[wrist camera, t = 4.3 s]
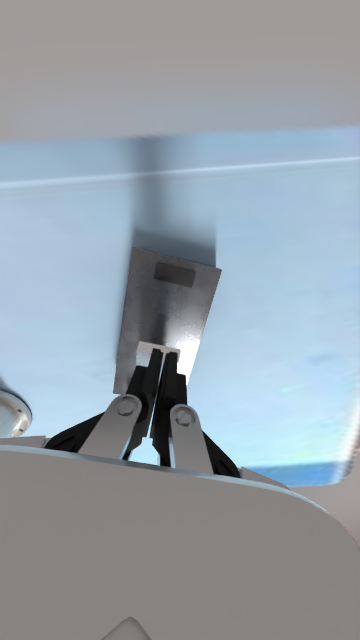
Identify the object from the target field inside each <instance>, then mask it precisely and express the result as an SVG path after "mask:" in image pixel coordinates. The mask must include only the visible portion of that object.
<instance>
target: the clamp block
mask: <svg viewBox="0 0 360 640" xmlns="http://www.w3.org/2000/svg"><path fill="white" fill-rule="evenodd" d="M221 271H222V270H221V269H219V268H216V267H212V266H208V265H204V264H200V263H196V262H192V261H188V260H184V259H180V258H176V257H172V256H168V255H164V254H160V253H156V252H152V251H148V250H144V249H140V248H133V247H132V255H131V262H130V270H129V277H128V285H127V292H126V299H125V307H124V314H123V322H122V329H121V337H120V344H119V352H118V359H117V366H116V374H115V381H114V389H113V393H114V394H120V395H123V394H126V391H127V388H128V386H129V383H130V381H131V378H132V376H133V373H134V370H135V368H136V351H137V347H138V344H139V341H142V342H147V343H152V344H157V345H162V346H167V347H172V348H177V349H181V353H180V360H179V362H178V364H177V373H180V374H185V375H186V385H187V382H188V379H189V376H190V372H191V369H192V366H193V363H194V359H195V356H196V353H197V350H198V346H199V343H200V340H201V337H202V333H203V330H204V327H205V323H206V320H207V317H208V314H209V310H210V307H211V304H212V301H213V297H214V294H215V291H216V288H217V284H218V281H219V278H220V275H221ZM155 401H156V399H155Z"/></svg>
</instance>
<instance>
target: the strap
mask: <svg viewBox="0 0 360 640" xmlns="http://www.w3.org/2000/svg"><path fill="white" fill-rule="evenodd" d="M153 348H157V349H161V352H164V354H163V360H162V366H161V372H162V368H163V364H164V360H165V355H166V353H169V352H170V351H171V352H176V353H178V362H179V360H180V353H181V349H177V348H172V347H167V346H162V345H157V344H152V343H147V342H142V341H139V344H138V347H137V351H136V365H140V366H145V367H148V364H149V360H150V357H151V353H152V350H153ZM178 362H177V364H178ZM161 372H160V376H161ZM159 380H160V378H159Z"/></svg>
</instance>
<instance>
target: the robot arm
mask: <svg viewBox="0 0 360 640" xmlns="http://www.w3.org/2000/svg"><path fill="white" fill-rule="evenodd" d="M163 354H164V352H161V349H157V348H153V350H152V353H151V357H150V360H149V364H148V367H145V366H140V365H136V368H135V370H134V373H133V376H132V378H131V381H130V383H129V386H128V388H127V391H126V394H123V395H120V396H118V397H116V398H115V399H114V400H113V401H112V402H111V404H110V405H109V407H108V408H107V410H106V411H105V412H103V413H101V414H99V415H97V416H94V417H92V418H90V419H88V420H86V421H84V422H82V423H80V424H77V425H75V426H73V427H71V428H69V429H67V430H65V431H63V432H60V433H59V434H57V435H55V436H54V437H52V438H46V436H30V437H18V436H20V435H22V434H23V433H25V432H26V430H27V429H28V428H29V427H30V425H31V421H32V417H31V413H30V411H29V409H28V407H27V406H26V405H25V404H24V403H23V402H22V401H21V400H20V399H18V398H17V397H15V396H14V395H12V394H10V393H7V392H4V391H1V390H0V640H360V546H359V544H358V543H357V542H356V540H355V539H354V538H353V536H352V535H351V534H350V533H349V532H348V530H347V529H346V528H345V527H344V526H343V525H342V523H341V522H339V521H338V520H337V519H336V518H335V517H334V516H333V515H332V514H330V513H329V512H328V511H326V510H325V509H323V508H322V507H320V506H319V505H317V504H316V503H314V502H312V501H311V500H309V499H307V498H306V497H304V496H301V495H299V494H297V493H294V492H292V491H291V490H290V489H289V488H288V487H287V486H285V485H283V484H282V483H279V482H277V481H275V480H272V479H270V478H267V477H265V476H263V475H260V474H258V473H256V472H253V471H251V470H248V469H246V468H244V467H241V469H239V468H237V467H236V465H235V464H234V463H233V461H232V460H231V459H230V458H229V457H228V456H227V455H226V454H225V453H224V452H223V451H222V450H221V449H220V448H219V447H218V446H217V445H216V444H215V443H214V442H213V441H212V440H211V439H210V438H209V437H208V436H207V435H206V434H205V433H204V432H203V431H202V429H201V425H200V421H199V417H198V415H197V413H196V411H195V410H194V409H193V408H191V407H190V406H188V405H187V388H186V375H185V374H180V373H177V362H178V353H176V352H171V351H170V352H169V353H166V355H165V360H164V364H163V368H162V372H161V366H162V360H163ZM160 372H161V376H160ZM159 378H160V380H159ZM155 399H156V401H155ZM154 404H155V407H154ZM153 408H154V413H153V419H152V425H151V431H150V438H153V443H152V446H154V448H155V449H156V450H157V452H158V458H157V459H158V465H152V464H146V463H139V462H133V461H129V460H130V457H131V455H132V450H133V449H135V448H136V447H138V446H139V445H140V444H141V442H142V437H147V433H148V428H149V424H150V420H151V416H152V412H153Z"/></svg>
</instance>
